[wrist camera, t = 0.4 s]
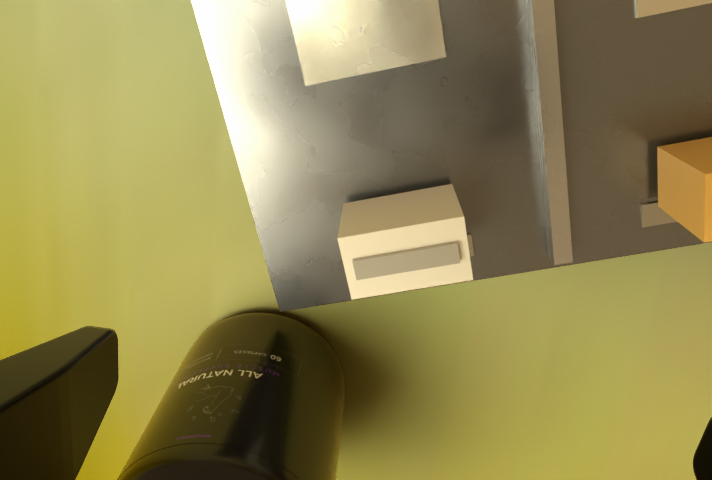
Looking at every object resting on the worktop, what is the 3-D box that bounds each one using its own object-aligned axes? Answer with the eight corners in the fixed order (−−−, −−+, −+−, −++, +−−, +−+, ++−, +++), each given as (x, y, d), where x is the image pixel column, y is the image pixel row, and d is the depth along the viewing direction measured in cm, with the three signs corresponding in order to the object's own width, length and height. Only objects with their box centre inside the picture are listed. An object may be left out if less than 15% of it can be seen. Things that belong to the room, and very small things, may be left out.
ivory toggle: (460, 239, 20) (474, 282, 17) (355, 257, 21) (351, 302, 18) (452, 183, 19) (464, 218, 16) (343, 203, 20) (336, 241, 17)
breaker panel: (826, 197, 22) (887, 225, 19) (287, 286, 24) (276, 322, 21) (865, -197, 17) (951, -230, 14) (197, -41, 19) (169, -45, 17)
